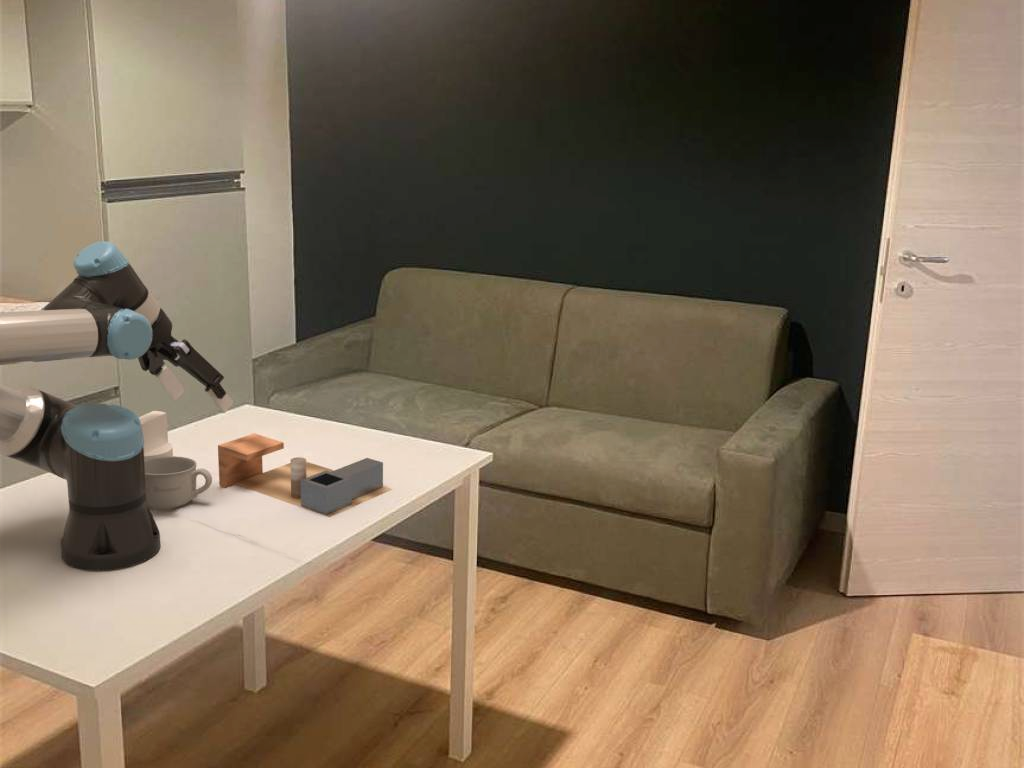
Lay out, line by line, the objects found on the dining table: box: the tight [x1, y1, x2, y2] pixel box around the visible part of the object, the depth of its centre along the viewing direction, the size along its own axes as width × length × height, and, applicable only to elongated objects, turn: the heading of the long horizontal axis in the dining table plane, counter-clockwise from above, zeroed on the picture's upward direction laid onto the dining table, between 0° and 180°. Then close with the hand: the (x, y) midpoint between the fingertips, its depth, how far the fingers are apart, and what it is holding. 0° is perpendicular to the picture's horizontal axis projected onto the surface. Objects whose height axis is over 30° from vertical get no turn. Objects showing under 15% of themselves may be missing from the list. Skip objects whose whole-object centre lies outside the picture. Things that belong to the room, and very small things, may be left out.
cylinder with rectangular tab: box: [138, 410, 174, 460], centre depth 201 cm, size 9×9×12 cm
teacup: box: [144, 455, 213, 512], centre depth 188 cm, size 14×11×8 cm
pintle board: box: [217, 433, 393, 518], centre depth 198 cm, size 18×28×8 cm, turn 55°
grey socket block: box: [301, 457, 384, 515], centre depth 193 cm, size 16×6×5 cm, turn 146°
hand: (203, 401), depth 197 cm, fingers open, 13 cm apart
